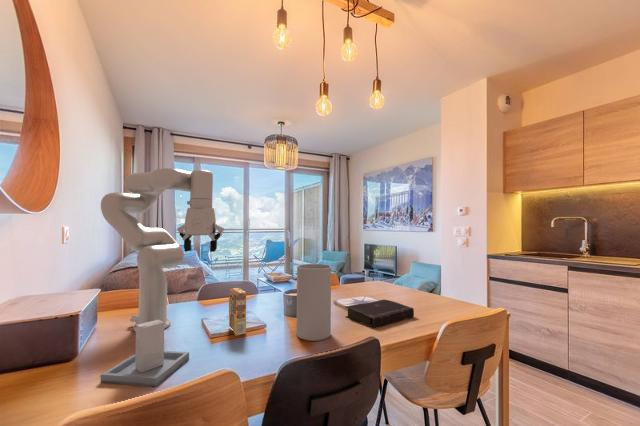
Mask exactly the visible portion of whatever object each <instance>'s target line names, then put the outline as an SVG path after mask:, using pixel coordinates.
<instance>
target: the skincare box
mask: <svg viewBox="0 0 640 426" xmlns="http://www.w3.org/2000/svg"><path fill="white" fill-rule="evenodd" d="M135 325H136V324H135ZM164 351H165V329H164V322H162V321H160V320H155V321H151V322H146V323H142V324H138V325H136V331H135V354H136V358H135V368H136V369H137V370H138V371H139V372H140V373H142V372H145V371H148V370H150V369H153V368H156V367H159V366H161V365H164Z"/></svg>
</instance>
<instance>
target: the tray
mask: <svg viewBox="0 0 640 426" xmlns="http://www.w3.org/2000/svg"><path fill="white" fill-rule="evenodd" d="M135 358H136V353H135V354H133V355H130V356H129V357H128V358H126V359H125V360H124V359H123V361H121V362H120V363H118V364H116V365H115V366H113V367H112V368H109V369H107V370H106V371H105V372H102V373H101V374H100V383H101V384H103V383H104V384H115V385H125V386H126V385H129V386H142V387H143V386H144V387H158V385H159V384H161V383H162V382H164V381H165V380H166V379H167V378H168V377H169V376H171V375H172V374H173V373H174V372H176V370H178V369H179V368H180V367H181V366H183V365H184V364H185V363H186V362H187V361H189V360H190V352H189V351H175V350H164V365H161V366H159V367H156V368H153V369H150V370H148V371H145V372H142V373H140V372H139V371H138V370H137V369H136V368H135Z"/></svg>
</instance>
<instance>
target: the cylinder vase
mask: <svg viewBox="0 0 640 426" xmlns="http://www.w3.org/2000/svg"><path fill="white" fill-rule="evenodd" d="M331 305H332V266H331V265H329V264H323V263H308V264H307V263H306V264H305V263H304V264H299V265H297V266H296V323H295V324H296V325H295V326H296V336H297V338H299V339H301V340H304V341H309V342H317V341H318V342H319V341H323V340H324V341H325V340H326V339H327V338H329V337H330V336H331V333H332V332H331V330H332V329H331V327H332V325H331V324H332V323H331V321H332V319H331V318H332V306H331Z"/></svg>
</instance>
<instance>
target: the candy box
mask: <svg viewBox="0 0 640 426" xmlns="http://www.w3.org/2000/svg"><path fill="white" fill-rule="evenodd" d="M229 326H230V327H231V328H232V329H233V330H234V333H235V334H234V333H233V334H234V335H235V336H240V335H245V334H247V291H245V290H243V289H241V288H240V287H235V288H229V290H228V327H229Z"/></svg>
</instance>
